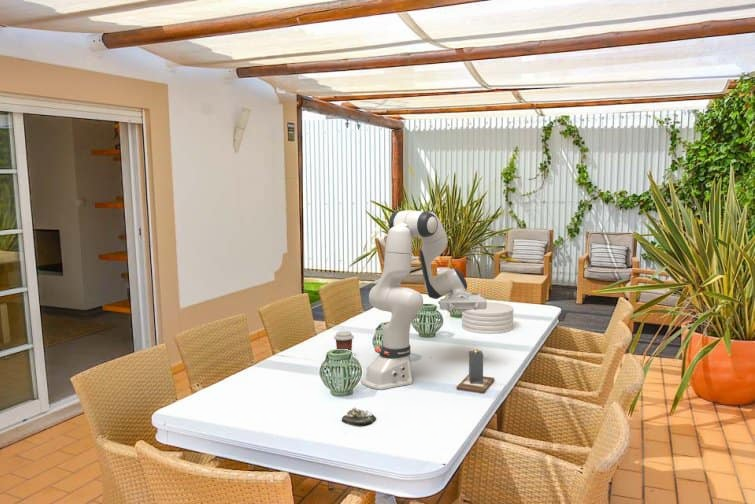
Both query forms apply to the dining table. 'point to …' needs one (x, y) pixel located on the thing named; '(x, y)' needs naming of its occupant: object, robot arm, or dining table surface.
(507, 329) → the plate stack
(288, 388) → the dining table surface
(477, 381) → the block
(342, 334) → the coffee cup
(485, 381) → the walnut board
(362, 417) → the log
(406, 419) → the dining table surface
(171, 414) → the dining table surface
